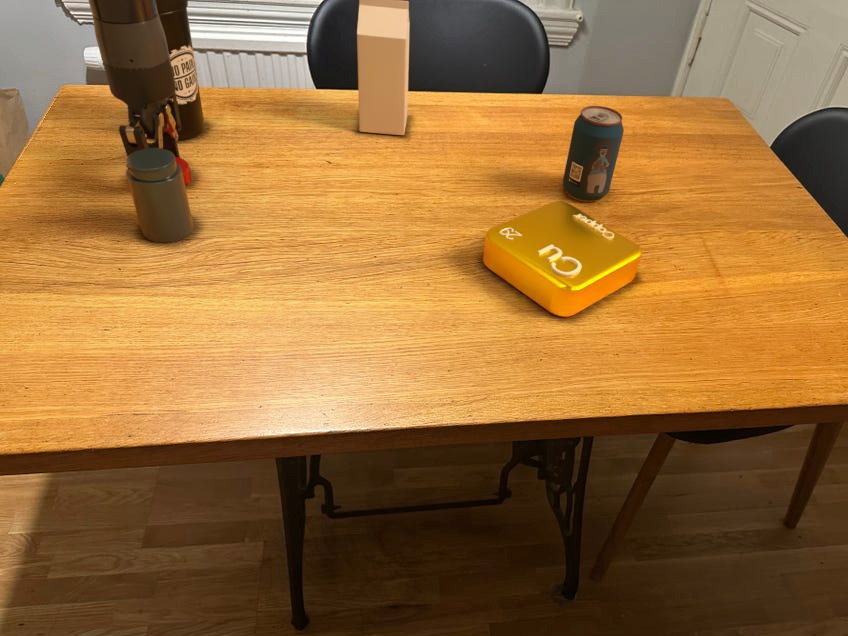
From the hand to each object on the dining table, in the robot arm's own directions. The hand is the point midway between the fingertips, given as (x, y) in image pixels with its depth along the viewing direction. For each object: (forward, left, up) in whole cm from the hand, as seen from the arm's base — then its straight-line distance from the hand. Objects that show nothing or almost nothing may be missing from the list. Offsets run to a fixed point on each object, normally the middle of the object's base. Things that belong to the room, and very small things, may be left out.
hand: (165, 178), depth 95 cm
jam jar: (+4, -12, 0) cm, 12 cm away
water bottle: (-3, +15, 0) cm, 15 cm away
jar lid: (0, 0, +1) cm, 1 cm away
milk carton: (+28, +22, 0) cm, 36 cm away
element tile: (+53, -15, 0) cm, 55 cm away
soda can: (+59, +5, 0) cm, 59 cm away
